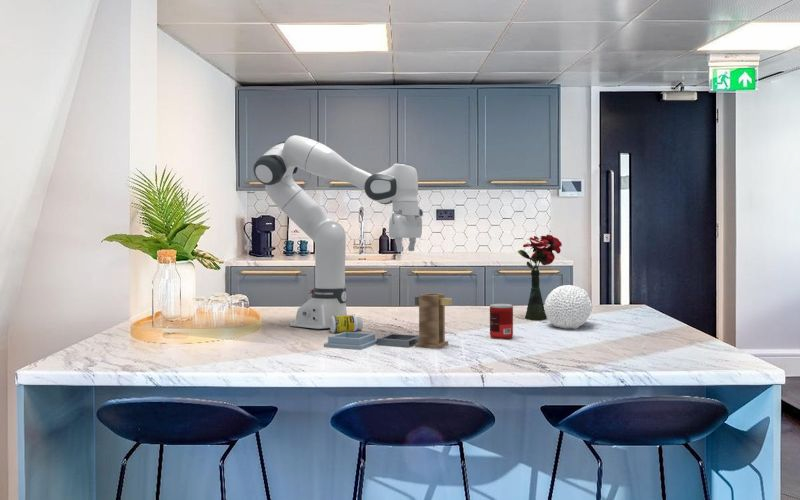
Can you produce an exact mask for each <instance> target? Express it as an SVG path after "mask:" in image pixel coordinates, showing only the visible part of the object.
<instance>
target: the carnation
mask: <svg viewBox="0 0 800 500" xmlns="http://www.w3.org/2000/svg"><path fill="white" fill-rule="evenodd" d="M539 237H540V239H539ZM539 237H538V236H536V235H533V237H530V236H529V238H528V237H526V240H528V241H529V242H530V243H529V242H525V243H523V245H522V247H523V248H530V250H529V251H531V250H532V254H531V256H530V255H529V254H528V253H527V251H525V250H524V249H518V250H517V251H516V252H517V253H518V254H519V255H520V256H522V257H523V258H525V259H527V260H529V261H526V266H527V267H528V268H529V269H531V270H530V275H531V281H530V282H531V288H530V293H529V299H528V303H527V308H526V312H525V316H524V319H525V320H529V321H545V320H548V317H547V315H546V312H545V308H544V306H545V304H544V302H543V297H542V291H541V287H540V270H539V267H540V266H539V265H540V263H541V265H542V266H548V265H551V264H552V263H553V262H554V260H555V257H556V256H555V254H554V252H555V253H556V254H560V253H561V247H562V246H563V244H562V241H560V239H559V238H557V237H555V236H553V235H551V234H546V235H541V236H539ZM553 251H554V252H553ZM532 262H533V263H534V266H533V264H532Z"/></svg>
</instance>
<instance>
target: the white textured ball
mask: <svg viewBox="0 0 800 500" xmlns="http://www.w3.org/2000/svg"><path fill="white" fill-rule="evenodd" d="M545 298H546V299H545V300H544V310H545V314H546V317H547V320H548V321H549V323H551V324H552V325H553V326H555V327H557V328H560V329H564V330H567V329H573V330H577V329H578V328H579V327H581V326H583V325H584V323H586V322H587V320H588V319H589V318H590V316H591V313H592V311H593V310H592V309H593V304H592V300H591V298H590V297H589V293H588V292H587V291H586V290H585V289H583V288H582V287H579V286H577V285H571V284H568V285H566V284H564V285H560V286H558V287H556V288H554V289H553V290H551V291H550V293H549V294H548V295H547V297H545Z"/></svg>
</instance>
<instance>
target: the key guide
mask: <svg viewBox="0 0 800 500" xmlns="http://www.w3.org/2000/svg"><path fill="white" fill-rule="evenodd" d="M418 296H419V305H418V335H419V342H418V343H416V344H415V345H414V346H415V347H416V348H427V349H442V348H444V347H446V346H448V345H449V340H446V339H445V338H446V337H445V336H446V334H445V333H446V331H445V330H446V326H445V324H446V317H445V316H446V314H445V312H446V311H445V310H446V309H445V308H446V305H439V298H446V297H445V293H429V292H428V293H427V292H426V293H425V294H419V295H418Z"/></svg>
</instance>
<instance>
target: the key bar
mask: <svg viewBox="0 0 800 500" xmlns="http://www.w3.org/2000/svg"><path fill="white" fill-rule="evenodd" d="M452 304H453V297H445V298H439V305H445V306H452ZM414 306H419V295H417V296H414Z"/></svg>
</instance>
